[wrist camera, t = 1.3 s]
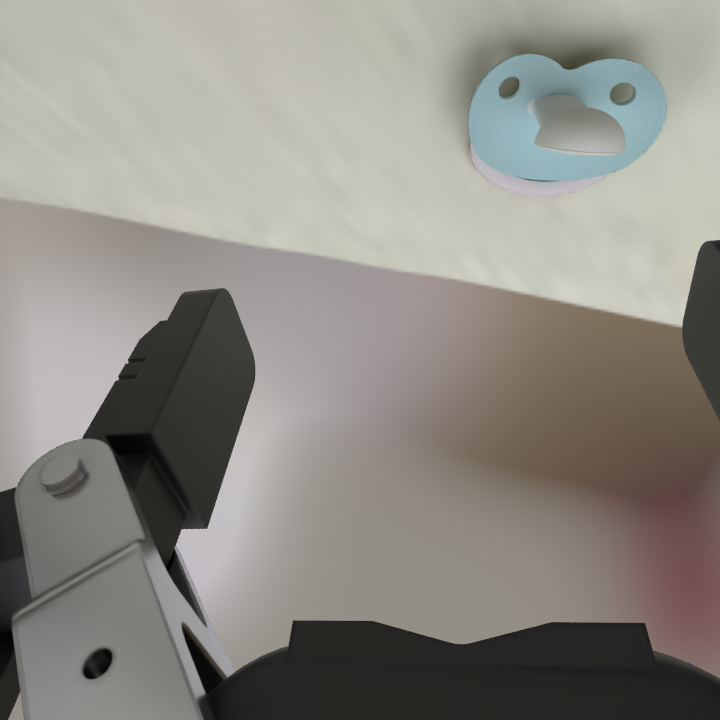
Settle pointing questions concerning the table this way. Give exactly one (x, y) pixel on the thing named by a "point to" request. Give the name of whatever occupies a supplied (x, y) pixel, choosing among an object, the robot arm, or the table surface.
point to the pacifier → (561, 123)
